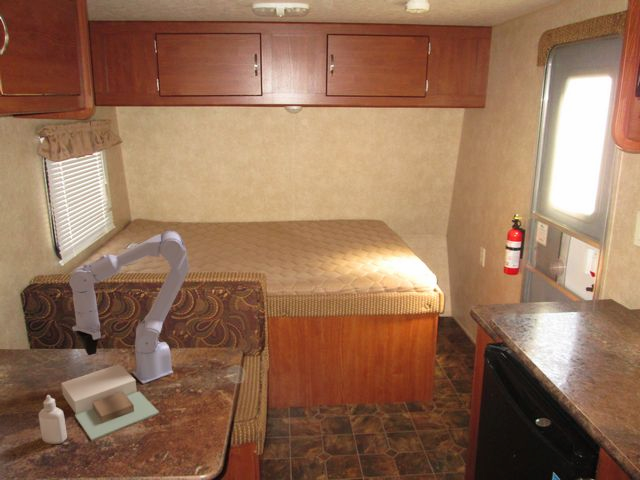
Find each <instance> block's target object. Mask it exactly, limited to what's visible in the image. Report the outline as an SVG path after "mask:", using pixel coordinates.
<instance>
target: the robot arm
mask: <svg viewBox="0 0 640 480" xmlns="http://www.w3.org/2000/svg"><path fill="white" fill-rule="evenodd" d="M160 255H161V256H162V257H163V259H164V260H166V261H167V262H168V264H169V266H170V269H169V271H168V274H167V275H166V278H165V280H164V282H163V284H162V285H161V287H160V290H159V292H158V294H157V295H156V298H155V299H154V302H153V304H152V306H151V308H150V310H149V312H148V314H146V315H145V317H144V319H143V320H142V321H141V322H140V323H138V324H137V325H136V328H135V340H134V345H135V346H134V352H135V361H136V370H134V371H132V374H133V375H132V376H134V377H135V378H136V379H138V381H139V382H140V383H141V384H143V385H144V384H148V383H150V382H153V381H155V380H157V379H161V378H163V377H166V376H169V375H172V374H173V373H174V371H173V369H172V366H173V365H172V358H171V357H172V356H171V350H170V347H169V345H168V344H167V342H166V341H161V342H160V341H159V336H160V334H161V332H162V327H163V323H164V321H166V317H167V315H168V313H169V312H170V309H171V307H172V305H173V303H174V302H175V299H176V297H177V295H178V293H179V291H180V290H181V287H182V286H183V283H184V281H185V279H186V278H187V275H188V273H189V271H190V265H189V259H188V254H187V248H186V244H185V242H184V240H183V238H182V237H181V235H180V234H179V232H177V231H174V230H167V231H164V232H163V233H162V234H161V233H159V234H156V235H154V236H152V237H150V238H148V239H147V240H145V241H143V242H141V243H139V244H137V245H135V246H132V247H131V248H129V249H127V250H125V251H124V252H121V253H120V254H118V255H115V254H107V255H106V254H101V255H99V258H98V259H97V260H94V261H91V262H90V263H86V262H85V263H84V264H83V265H81V266H78V267H76V268H74V269H73V271H72V273H71V276H70V277H69V281H68V283H69V286H70V288H71V291H72V301H73V308H74V314H75V323H76V324H75V325H74V326H72V327H71V329H72V331H73V332H76V334H77V335H78V336H79V338H80V340H81V342H82V344H83V346H84V347H83V348H84V350H85V352H86V353H87V355H88V356H92V355H96V353H97V350H98V343H99V340H100V339H102V330H101V329H100V328H101V323H100V320H99V312H98V304H97V296H96V291H95V285H94V284H98V283H101V282H102V281H104V280H106V279H108V278H110V277H113V276H115V275H117V274H119V273H120V272H121V269H122V267H123V266H127V265H128V264H131V263H133V262H135V261H138V260H141V259H143V258H145V257H148V256H149V257H154V258H160Z"/></svg>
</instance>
